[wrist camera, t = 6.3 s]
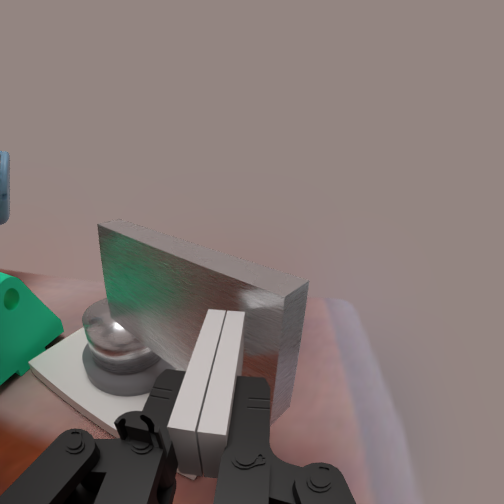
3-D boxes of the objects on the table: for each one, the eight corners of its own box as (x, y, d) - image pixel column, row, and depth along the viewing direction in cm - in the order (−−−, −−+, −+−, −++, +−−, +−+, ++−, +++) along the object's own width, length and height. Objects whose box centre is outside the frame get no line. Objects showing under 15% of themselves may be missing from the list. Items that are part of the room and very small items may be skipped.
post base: (32, 373, 24) (23, 350, 23) (128, 309, 38) (126, 289, 37) (193, 480, 17) (189, 460, 16) (274, 357, 31) (276, 334, 30)
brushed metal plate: (79, 344, 25) (54, 223, 21) (137, 319, 30) (125, 207, 26) (238, 485, 14) (243, 323, 10) (302, 419, 19) (332, 264, 15)
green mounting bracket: (29, 323, 32) (10, 249, 28) (66, 338, 31) (46, 256, 27) (-32, 369, 21) (-64, 287, 17) (0, 397, 19) (-40, 305, 16)
